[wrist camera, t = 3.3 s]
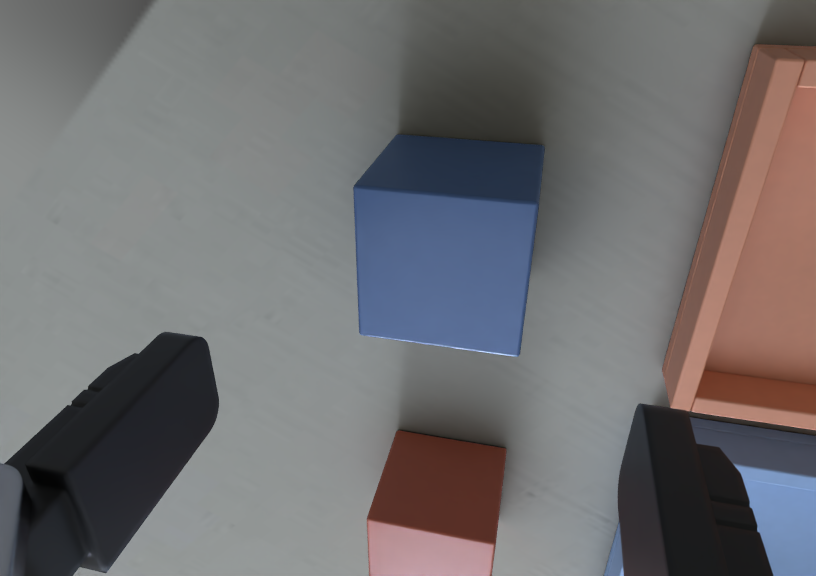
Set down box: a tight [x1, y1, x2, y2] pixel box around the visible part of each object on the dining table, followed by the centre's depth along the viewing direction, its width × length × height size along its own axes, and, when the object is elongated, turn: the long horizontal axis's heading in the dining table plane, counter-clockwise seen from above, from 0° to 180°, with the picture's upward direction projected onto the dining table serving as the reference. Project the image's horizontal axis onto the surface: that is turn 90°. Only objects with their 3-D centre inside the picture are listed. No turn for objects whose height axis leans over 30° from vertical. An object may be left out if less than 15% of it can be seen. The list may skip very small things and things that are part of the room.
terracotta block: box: [367, 430, 506, 576], centre depth 23 cm, size 4×4×4 cm
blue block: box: [353, 134, 545, 357], centre depth 17 cm, size 4×4×4 cm
